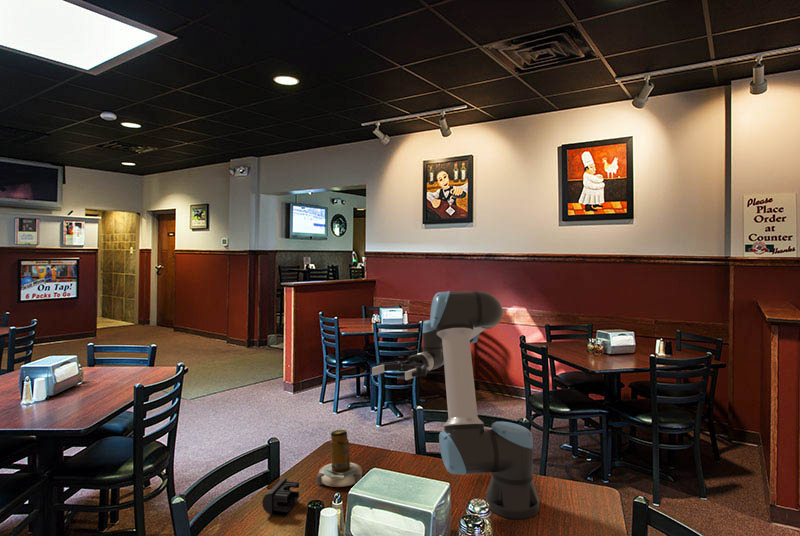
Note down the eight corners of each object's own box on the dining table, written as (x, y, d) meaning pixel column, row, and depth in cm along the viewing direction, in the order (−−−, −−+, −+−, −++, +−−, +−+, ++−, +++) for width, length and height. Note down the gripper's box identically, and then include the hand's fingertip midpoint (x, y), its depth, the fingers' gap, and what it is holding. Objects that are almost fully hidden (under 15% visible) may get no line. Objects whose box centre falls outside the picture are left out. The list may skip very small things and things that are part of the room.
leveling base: (364, 468, 161) (364, 458, 161) (359, 489, 146) (359, 477, 146) (324, 468, 162) (324, 457, 162) (314, 488, 147) (314, 476, 147)
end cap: (277, 499, 141) (277, 476, 141) (299, 501, 140) (299, 478, 139) (261, 516, 131) (261, 492, 131) (285, 518, 130) (285, 494, 130)
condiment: (343, 463, 159) (341, 427, 160) (359, 468, 152) (356, 431, 153) (325, 470, 154) (323, 432, 155) (340, 475, 148) (338, 436, 148)
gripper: (449, 377, 172) (420, 389, 154) (392, 369, 185) (360, 380, 167) (449, 356, 172) (420, 366, 154) (392, 350, 185) (359, 359, 167)
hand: (388, 373), depth 160 cm, fingers open, 13 cm apart
